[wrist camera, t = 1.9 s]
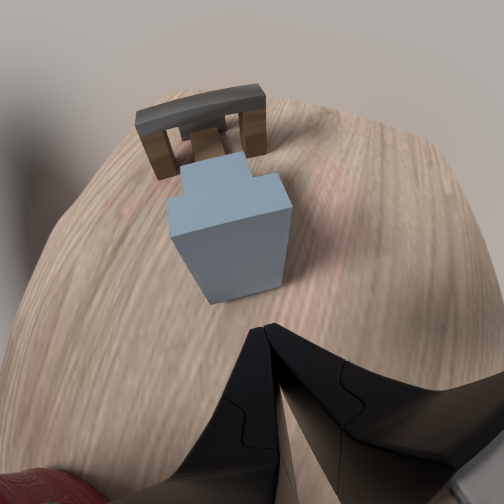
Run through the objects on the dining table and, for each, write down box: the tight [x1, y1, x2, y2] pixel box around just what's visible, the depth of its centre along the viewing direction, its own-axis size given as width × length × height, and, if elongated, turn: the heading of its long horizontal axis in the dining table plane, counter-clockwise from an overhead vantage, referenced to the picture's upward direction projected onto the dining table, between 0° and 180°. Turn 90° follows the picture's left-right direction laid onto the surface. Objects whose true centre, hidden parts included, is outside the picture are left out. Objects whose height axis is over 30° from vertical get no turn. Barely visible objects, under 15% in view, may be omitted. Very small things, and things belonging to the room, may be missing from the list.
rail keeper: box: [135, 84, 266, 180], centre depth 21 cm, size 18×11×7 cm, turn 15°
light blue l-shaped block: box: [166, 151, 293, 305], centre depth 17 cm, size 10×5×9 cm, turn 15°
